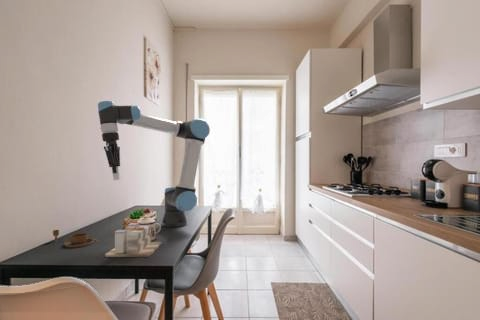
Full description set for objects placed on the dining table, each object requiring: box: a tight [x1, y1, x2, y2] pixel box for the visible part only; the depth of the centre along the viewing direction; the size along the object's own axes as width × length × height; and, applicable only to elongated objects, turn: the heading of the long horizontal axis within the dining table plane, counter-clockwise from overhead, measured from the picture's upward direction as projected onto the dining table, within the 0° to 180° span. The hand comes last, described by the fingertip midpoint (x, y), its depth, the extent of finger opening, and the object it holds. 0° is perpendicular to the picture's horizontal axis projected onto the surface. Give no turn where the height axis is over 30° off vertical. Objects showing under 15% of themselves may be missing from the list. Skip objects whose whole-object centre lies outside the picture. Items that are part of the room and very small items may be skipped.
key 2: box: [127, 222, 139, 229], centre depth 127 cm, size 3×4×9 cm
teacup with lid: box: [136, 215, 162, 242], centre depth 139 cm, size 12×9×12 cm
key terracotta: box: [124, 225, 136, 234], centre depth 121 cm, size 3×4×9 cm
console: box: [104, 225, 162, 258], centre depth 121 cm, size 17×18×10 cm
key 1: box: [114, 229, 127, 253], centre depth 114 cm, size 3×4×9 cm
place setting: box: [52, 229, 99, 249], centre depth 133 cm, size 18×20×6 cm
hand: (116, 179), depth 138 cm, fingers closed
